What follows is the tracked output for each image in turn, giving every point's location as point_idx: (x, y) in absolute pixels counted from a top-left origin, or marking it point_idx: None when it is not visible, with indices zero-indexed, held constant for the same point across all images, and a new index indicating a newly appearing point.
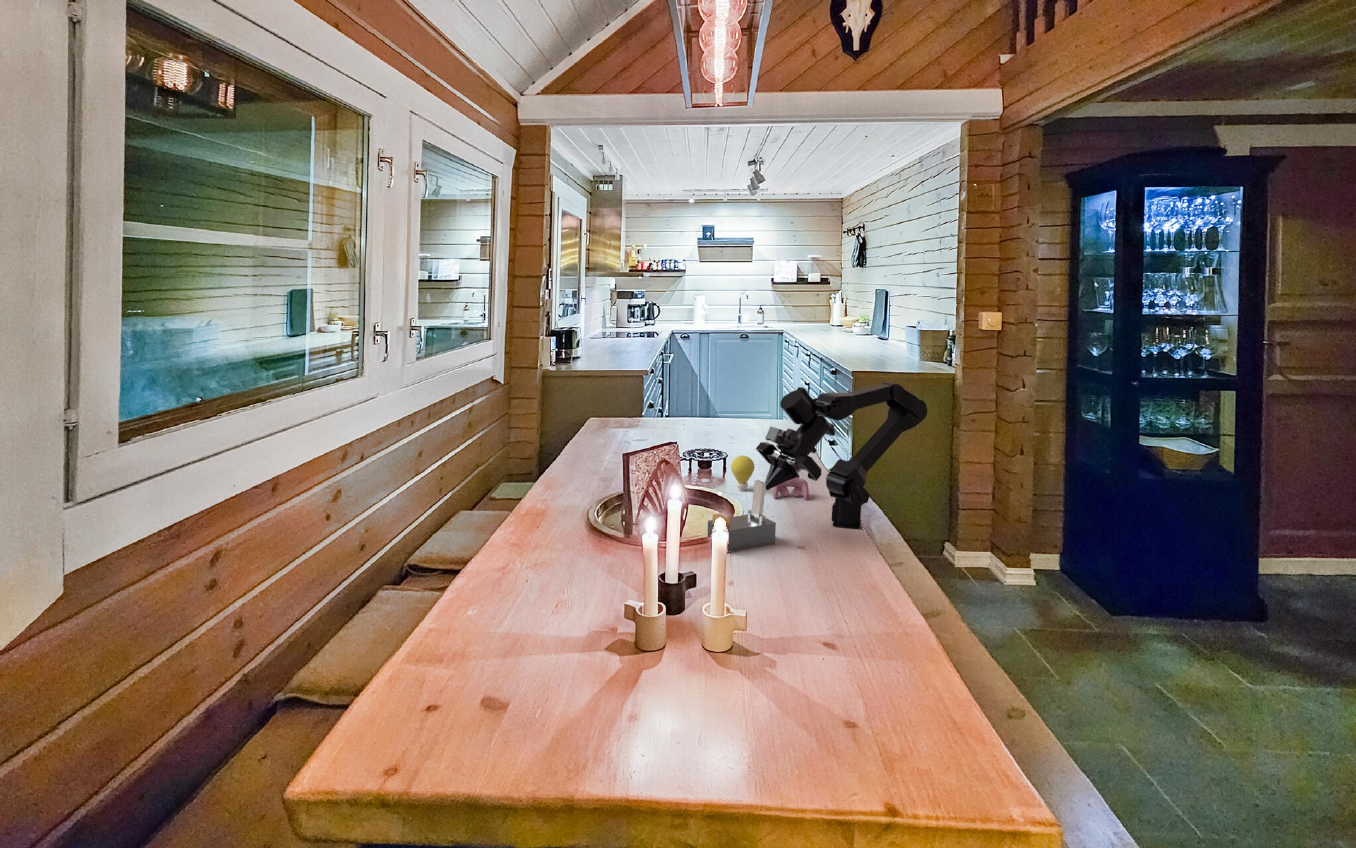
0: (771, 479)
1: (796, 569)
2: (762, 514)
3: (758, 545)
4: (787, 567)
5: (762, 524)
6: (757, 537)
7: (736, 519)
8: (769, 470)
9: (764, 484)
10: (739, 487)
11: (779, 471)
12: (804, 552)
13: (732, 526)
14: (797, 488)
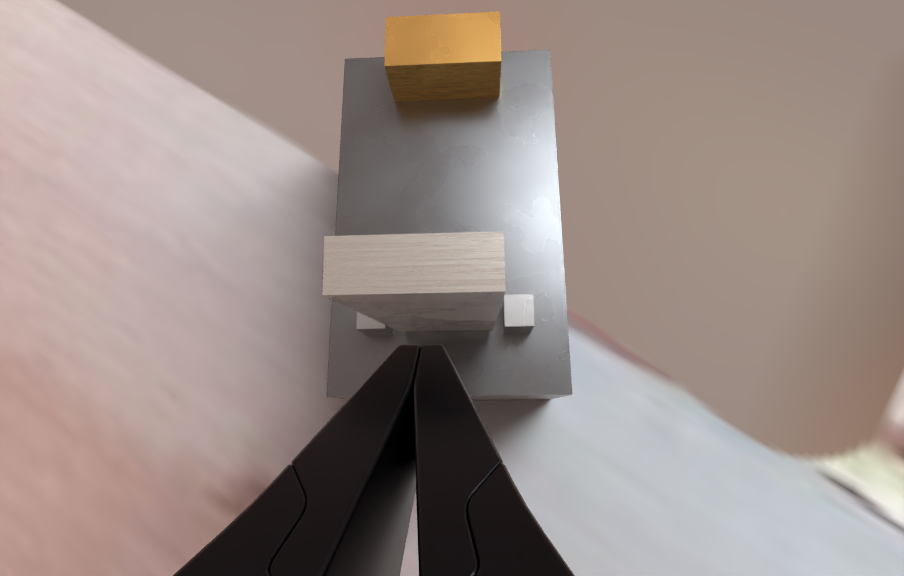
0: (340, 411)
1: (59, 295)
2: (396, 329)
3: None
4: (98, 273)
5: None
6: None
7: (500, 203)
8: (509, 504)
9: (327, 275)
10: None
11: (198, 562)
12: (190, 469)
13: (395, 119)
14: None
